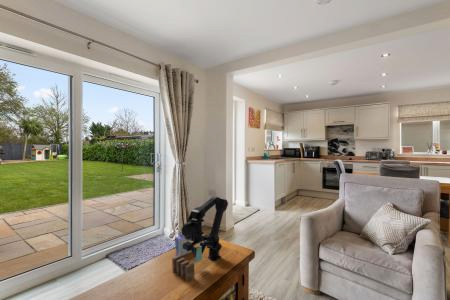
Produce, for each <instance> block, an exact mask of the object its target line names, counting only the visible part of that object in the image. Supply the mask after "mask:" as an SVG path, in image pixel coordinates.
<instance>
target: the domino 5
mask: <svg viewBox="0 0 450 300" xmlns="http://www.w3.org/2000/svg"><path fill="white" fill-rule="evenodd" d="M195 247H196V248H197V252H196V258H194V257H193V259H194V260H193V261H194V263H198V262H201V261H202V260H203V254H202V246H200V245H199V246H195Z"/></svg>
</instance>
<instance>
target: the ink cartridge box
mask: <svg viewBox="0 0 450 300" xmlns="http://www.w3.org/2000/svg"><path fill="white" fill-rule="evenodd" d="M186 242H190V243H192V241H191V240H188V239H187V240H186V239H185V236H184V235H183V234H182V231H181V232H179V234H178V236H175V237H174V243H175V244H174V247H175V256H178V255H179V256H180V257H183V256H185V255H187V254H191V253H192V251H191V250H190V251H187V250H185V249H183V244H184V243H186Z"/></svg>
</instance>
